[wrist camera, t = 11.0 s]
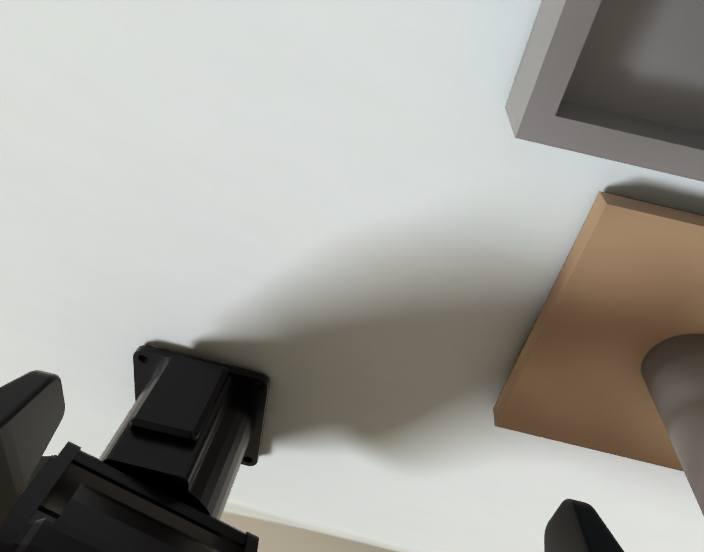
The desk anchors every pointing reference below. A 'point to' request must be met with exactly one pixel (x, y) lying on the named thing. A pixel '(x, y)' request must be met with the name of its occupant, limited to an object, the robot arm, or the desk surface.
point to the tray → (616, 82)
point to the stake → (621, 342)
